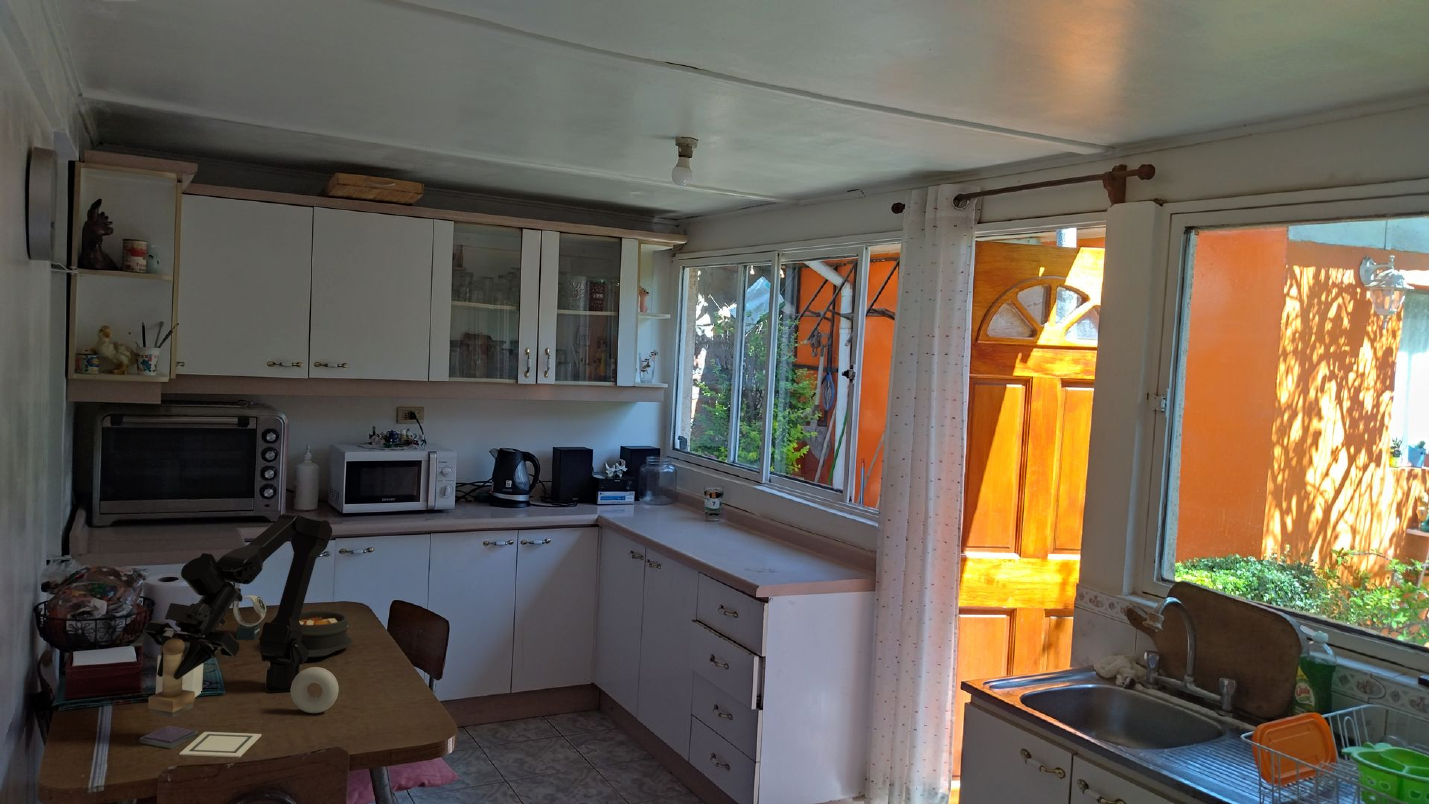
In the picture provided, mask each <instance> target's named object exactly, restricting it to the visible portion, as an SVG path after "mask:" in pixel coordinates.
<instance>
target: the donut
mask: <svg viewBox="0 0 1429 804" xmlns="http://www.w3.org/2000/svg"><path fill="white" fill-rule="evenodd" d="M311 684H316V685H317V684H318V685H319V686H320V688H321V694H320V695H319V696H312V695H310V693H309V692H308V687H309V685H311ZM339 691H340V689H339V683H338V680H337V678H336V677H335V675H334V674H333V673H332V672H331V671H329V670H327V669H326V668H324V667H319V666H313V667H312V666H311V667H308V668H305V669H303V670H301V671H299V674H298V675H296V677H295V678H294V680H293V682H292V685H291V689H290V691H289V692H290V698H291V700H292V701H293V704H294V705H295V706H296V707H297V708H298V709H300V710H301V711H302V712H304V713H310V714H319V713H320V714H321V713H323V712H325V711H326V710H328V709H330V708H331V707H332V706H333V705H334V704H335V702H336V700H337V699H338V695H339Z"/></svg>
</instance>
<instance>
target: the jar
mask: <svg viewBox="0 0 1429 804" xmlns="http://www.w3.org/2000/svg"><path fill="white" fill-rule="evenodd" d="M184 645H185V649H184V653H183V659H184V657H185V656H186V654H187V653H188V651H189V645H190V643H188V642H184ZM162 648H163V646H160V653H159V654H158V655H157V661H156V663H157V666H156V669H157V670H156V673H157V672H158V668H159V663H160V659H161V655H162ZM203 675H204V663H203V664H201V665H199V666H197V667H196V668H194V669H193V670H191V671H190V672H188V673H187V674H185V675H184V676H183V677H182V690H188V691H194V692H195V698H196V697H198V696H199V695H201V694H202V693H201V691H202V692H203V678H204V677H203ZM155 679H156V682H155V694H157V693H159V692H162V683H163V676H162V677H159V676H158V675H157V674H156V678H155Z"/></svg>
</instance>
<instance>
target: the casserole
mask: <svg viewBox="0 0 1429 804" xmlns="http://www.w3.org/2000/svg"><path fill="white" fill-rule="evenodd" d="M299 622H300V625H301V629H302V632H303V634H302V640H301V642H302V644H303V645H304V646H305V647H306V649H307V650H308V651H309V654H308V658H320V657H322V658H323V657H326V656H329V655H330V654H333V653H335V652H338V651H342V650H343V649H346V648H348V647H350V646H351V645H352V644H353V639H352V638H351V637H349V635H348V633H347V632H348V630H349V629H350V627H351V624H350V622H349V621H348V618H347V616H346V615H344V614H342V613H339V612H336V611H335V612H334V611H327V610H326V611H324V610H316V611H315V610H311V611H303V612H302V611H301V614H300V618H299Z"/></svg>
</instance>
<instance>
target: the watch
mask: <svg viewBox="0 0 1429 804" xmlns="http://www.w3.org/2000/svg"><path fill="white" fill-rule="evenodd" d="M245 599H250V601H251V602H252V606H253V609H254V611H255V612H256V613H257V614H258V615H259V617H260V619H259V621H257V622H246V621H244V618H243V617H242V615H241V613H240V609H239V606H238V604H239V603H240V602H237V601H235V603H234V605H233V611H232V613H233V617H234V618H235V620H236V621H237V623H238V624H240V625H239V626H237V627H236V635H235V636H236V637H235V639H236V641H238V640H240V641H244V640H245V641H254V640H256V639H257V637H260V636H261V623H262V620H263V619H264V618H265V616H266V613H267V612H268V611H267V609H268V608H267V606H266V603H265V602H264V600H263V599H262V598H261V597H260V596H257V595H253V594H247V595H244V596H242V600H245ZM263 621H264V620H263Z"/></svg>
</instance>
